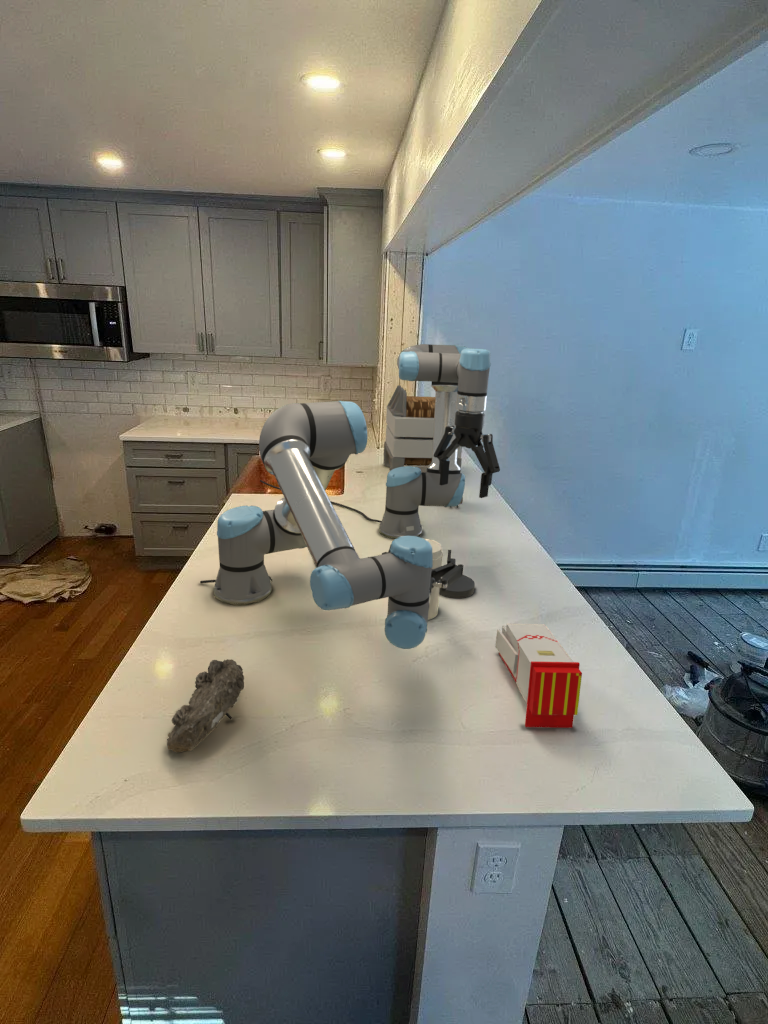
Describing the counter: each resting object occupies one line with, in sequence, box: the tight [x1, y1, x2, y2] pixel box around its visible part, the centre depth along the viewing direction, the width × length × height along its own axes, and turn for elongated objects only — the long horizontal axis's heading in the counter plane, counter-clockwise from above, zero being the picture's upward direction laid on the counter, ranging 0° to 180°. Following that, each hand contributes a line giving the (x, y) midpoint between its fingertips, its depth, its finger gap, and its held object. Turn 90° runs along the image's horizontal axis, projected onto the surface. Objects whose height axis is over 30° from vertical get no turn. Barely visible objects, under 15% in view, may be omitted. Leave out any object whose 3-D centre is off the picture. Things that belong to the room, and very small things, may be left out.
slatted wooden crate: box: [383, 384, 463, 472], centre depth 268 cm, size 34×33×41 cm
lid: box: [439, 574, 476, 599], centre depth 162 cm, size 12×12×2 cm
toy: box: [494, 623, 583, 729], centre depth 120 cm, size 12×13×30 cm
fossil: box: [166, 658, 245, 754], centre depth 106 cm, size 22×10×15 cm
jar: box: [424, 538, 444, 621], centre depth 147 cm, size 10×10×19 cm
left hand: (420, 552), depth 134 cm, fingers open, 13 cm apart
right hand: (462, 490), depth 152 cm, fingers open, 13 cm apart
